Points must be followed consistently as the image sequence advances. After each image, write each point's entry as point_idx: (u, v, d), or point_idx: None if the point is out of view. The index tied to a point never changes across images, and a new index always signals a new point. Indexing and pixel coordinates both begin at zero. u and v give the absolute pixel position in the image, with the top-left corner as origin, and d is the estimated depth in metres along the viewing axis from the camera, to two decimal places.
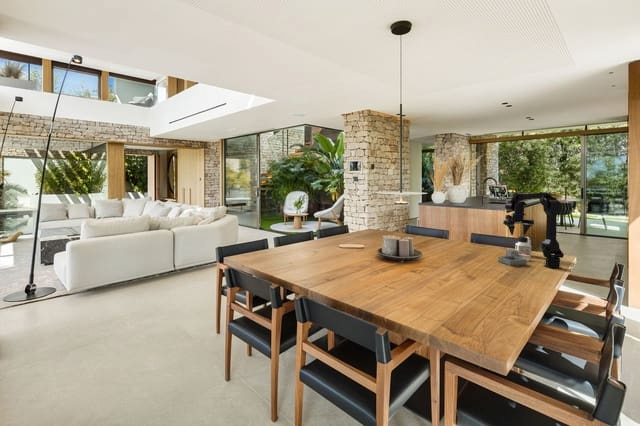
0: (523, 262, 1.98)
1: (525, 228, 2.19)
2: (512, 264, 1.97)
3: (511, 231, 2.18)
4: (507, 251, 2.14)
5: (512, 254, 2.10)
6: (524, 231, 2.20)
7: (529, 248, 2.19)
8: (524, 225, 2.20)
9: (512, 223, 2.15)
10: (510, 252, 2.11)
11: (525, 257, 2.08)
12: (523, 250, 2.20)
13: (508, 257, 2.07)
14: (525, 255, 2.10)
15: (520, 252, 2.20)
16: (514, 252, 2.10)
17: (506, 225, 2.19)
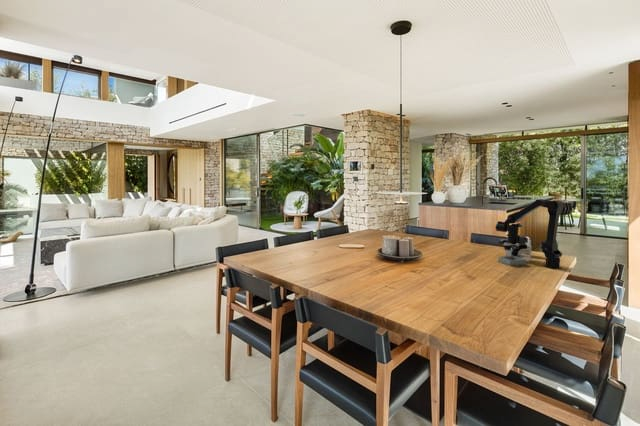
0: (523, 262, 1.98)
1: None
2: (512, 264, 1.97)
3: None
4: (507, 251, 2.14)
5: (512, 254, 2.10)
6: None
7: (529, 248, 2.19)
8: None
9: (500, 242, 2.19)
10: (510, 252, 2.11)
11: (525, 257, 2.08)
12: (523, 250, 2.20)
13: (508, 257, 2.07)
14: (525, 255, 2.10)
15: (520, 252, 2.20)
16: None
17: None
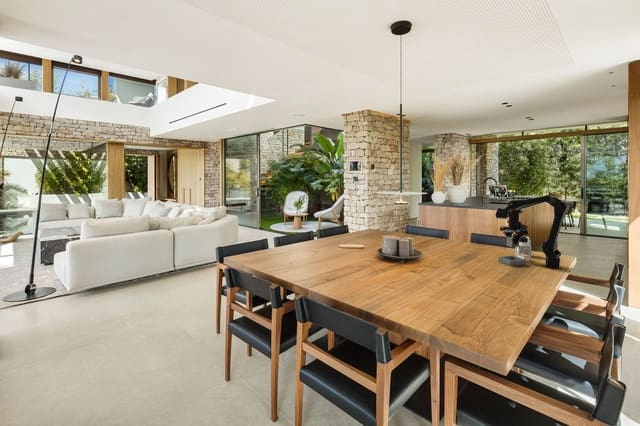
0: (523, 262, 1.98)
1: None
2: (512, 264, 1.97)
3: None
4: (508, 238, 2.10)
5: (513, 240, 2.07)
6: None
7: (529, 248, 2.19)
8: None
9: (501, 229, 2.15)
10: (511, 239, 2.07)
11: (525, 257, 2.08)
12: (523, 250, 2.20)
13: (508, 257, 2.07)
14: (525, 255, 2.10)
15: (520, 252, 2.20)
16: None
17: None
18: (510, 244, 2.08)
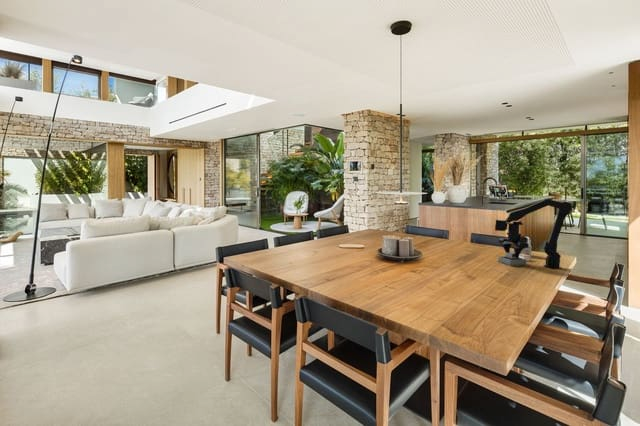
0: (523, 262, 1.98)
1: None
2: (512, 264, 1.97)
3: None
4: (507, 254, 2.03)
5: (512, 257, 1.99)
6: None
7: (529, 248, 2.19)
8: None
9: (500, 241, 2.08)
10: (510, 255, 2.00)
11: (525, 257, 2.08)
12: (523, 250, 2.20)
13: None
14: (525, 255, 2.10)
15: (520, 252, 2.20)
16: (514, 255, 1.99)
17: None
18: None
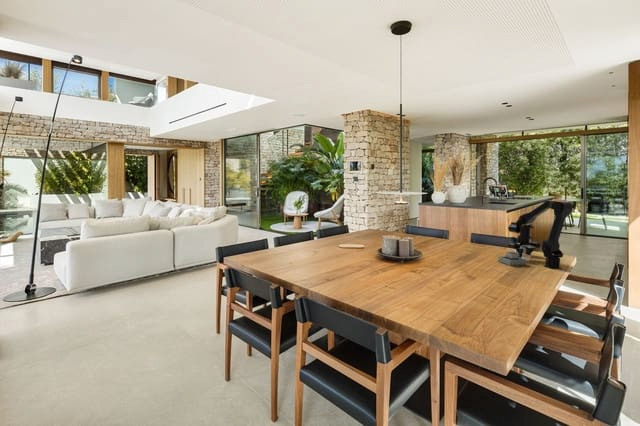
0: (523, 262, 1.98)
1: (528, 251, 2.11)
2: (512, 264, 1.97)
3: (519, 254, 2.10)
4: (507, 254, 2.03)
5: (512, 257, 1.99)
6: (527, 254, 2.11)
7: None
8: (527, 248, 2.12)
9: (517, 246, 2.06)
10: (510, 255, 2.00)
11: (525, 257, 2.08)
12: (523, 250, 2.20)
13: None
14: (525, 255, 2.10)
15: None
16: (514, 255, 1.99)
17: None
18: None
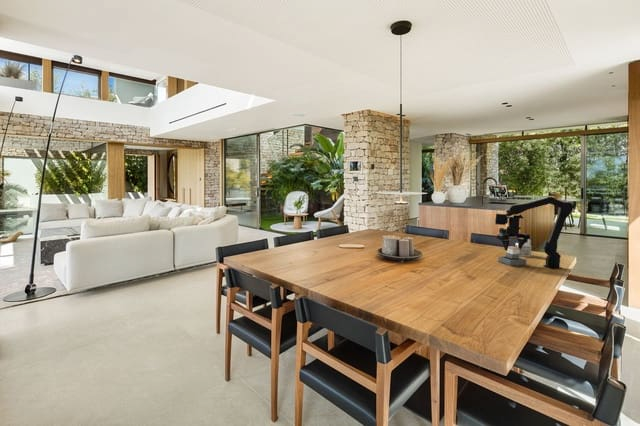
0: (523, 262, 1.98)
1: (520, 243, 2.01)
2: (512, 264, 1.97)
3: (505, 246, 2.00)
4: (507, 254, 2.03)
5: (512, 257, 1.99)
6: (519, 246, 2.02)
7: (529, 248, 2.19)
8: (519, 240, 2.02)
9: (506, 238, 1.97)
10: (510, 255, 2.00)
11: (514, 249, 1.98)
12: (523, 250, 2.20)
13: None
14: (514, 247, 2.00)
15: (520, 252, 2.20)
16: (514, 255, 1.99)
17: None
18: None
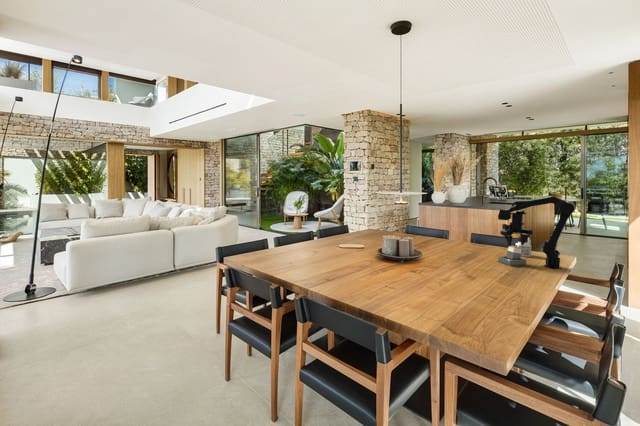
0: (523, 262, 1.98)
1: (523, 238, 2.05)
2: (512, 264, 1.97)
3: (509, 242, 2.03)
4: (509, 252, 2.03)
5: (514, 256, 1.99)
6: (522, 242, 2.06)
7: (529, 248, 2.19)
8: (522, 235, 2.06)
9: (510, 233, 2.00)
10: (512, 253, 2.00)
11: (516, 248, 1.99)
12: (523, 250, 2.20)
13: None
14: (516, 247, 2.01)
15: None
16: (516, 254, 1.99)
17: (503, 235, 2.04)
18: (510, 259, 2.01)
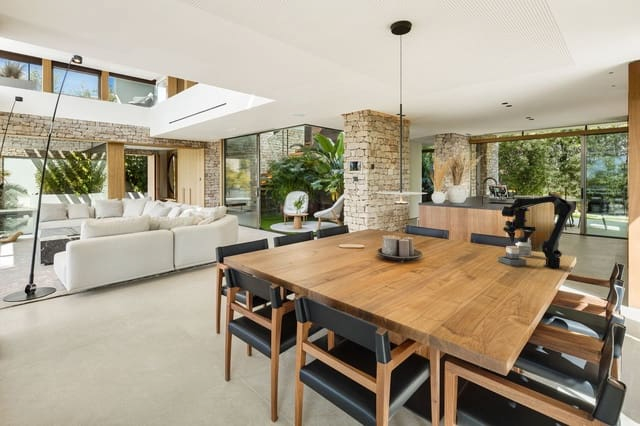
0: (523, 262, 1.98)
1: (526, 235, 2.08)
2: (512, 264, 1.97)
3: (511, 238, 2.07)
4: (507, 254, 2.03)
5: (512, 257, 1.99)
6: (525, 238, 2.09)
7: (529, 248, 2.19)
8: (525, 232, 2.09)
9: (512, 230, 2.04)
10: (510, 255, 2.00)
11: (513, 249, 1.99)
12: (523, 250, 2.20)
13: None
14: (513, 247, 2.01)
15: (520, 252, 2.20)
16: (514, 255, 1.99)
17: None
18: None
